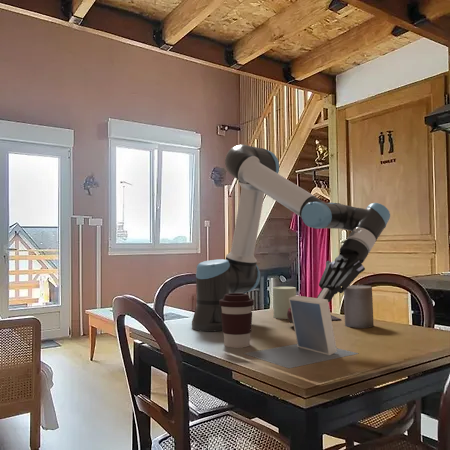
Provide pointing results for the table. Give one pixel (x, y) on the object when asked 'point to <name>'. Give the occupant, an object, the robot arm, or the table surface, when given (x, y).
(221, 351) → the table surface
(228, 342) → the coffee cup
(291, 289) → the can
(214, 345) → the table surface
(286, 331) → the table surface
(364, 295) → the pillar candle
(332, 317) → the chocolate bar
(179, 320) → the table surface
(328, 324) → the tile
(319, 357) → the mat
